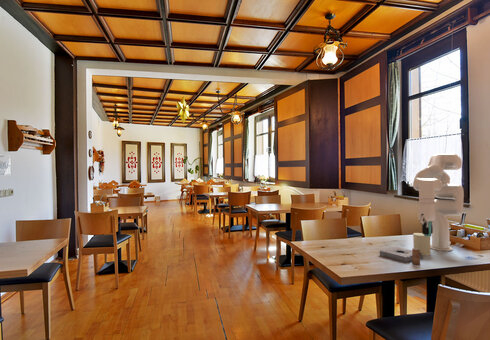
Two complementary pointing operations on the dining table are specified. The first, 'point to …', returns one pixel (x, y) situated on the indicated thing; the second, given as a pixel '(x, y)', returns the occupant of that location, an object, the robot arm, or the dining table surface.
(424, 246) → the can
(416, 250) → the walnut peg
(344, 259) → the dining table surface
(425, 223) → the teal peg
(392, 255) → the socket plate
